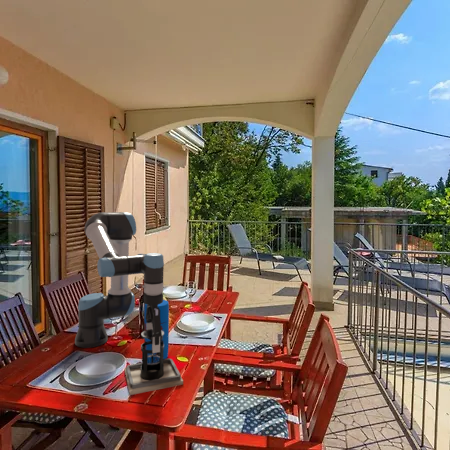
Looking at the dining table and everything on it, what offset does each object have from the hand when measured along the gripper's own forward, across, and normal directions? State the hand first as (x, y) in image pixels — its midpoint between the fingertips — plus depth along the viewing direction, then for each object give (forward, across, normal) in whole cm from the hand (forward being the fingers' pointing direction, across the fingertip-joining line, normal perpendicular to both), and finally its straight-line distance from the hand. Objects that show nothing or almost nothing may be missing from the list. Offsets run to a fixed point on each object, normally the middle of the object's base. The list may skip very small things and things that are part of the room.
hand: (152, 344), depth 133 cm
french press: (+12, 0, 0) cm, 12 cm away
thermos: (+14, -18, +5) cm, 23 cm away
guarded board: (+14, 0, 0) cm, 14 cm away
